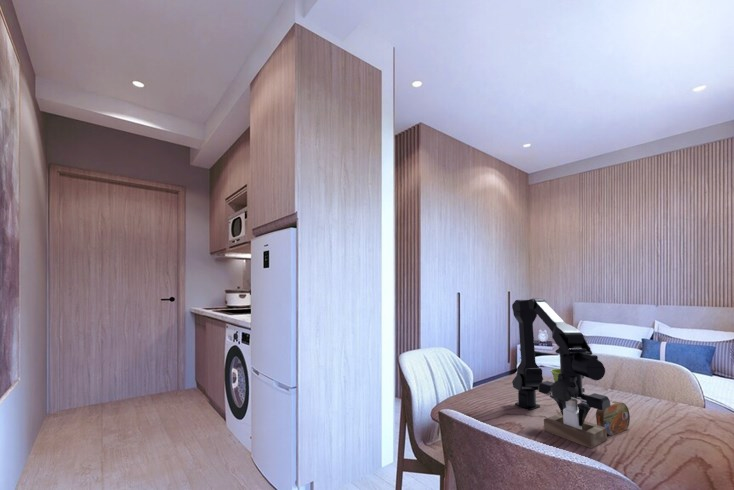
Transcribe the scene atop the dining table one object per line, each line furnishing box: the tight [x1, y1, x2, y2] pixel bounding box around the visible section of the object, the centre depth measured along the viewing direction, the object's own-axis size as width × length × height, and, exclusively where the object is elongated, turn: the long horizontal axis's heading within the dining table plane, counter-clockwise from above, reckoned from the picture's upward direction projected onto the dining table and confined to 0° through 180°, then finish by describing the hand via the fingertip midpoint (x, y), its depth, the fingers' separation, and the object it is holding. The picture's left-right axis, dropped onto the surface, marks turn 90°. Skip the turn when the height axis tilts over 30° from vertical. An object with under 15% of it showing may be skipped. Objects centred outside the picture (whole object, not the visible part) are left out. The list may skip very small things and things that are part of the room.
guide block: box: [543, 412, 608, 449], centre depth 103 cm, size 10×13×3 cm
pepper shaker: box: [563, 397, 582, 430], centre depth 104 cm, size 4×4×10 cm
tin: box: [595, 400, 631, 436], centre depth 106 cm, size 15×3×8 cm, turn 117°
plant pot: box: [550, 368, 561, 382], centre depth 144 cm, size 9×9×9 cm
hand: (573, 423), depth 103 cm, fingers open, 4 cm apart
